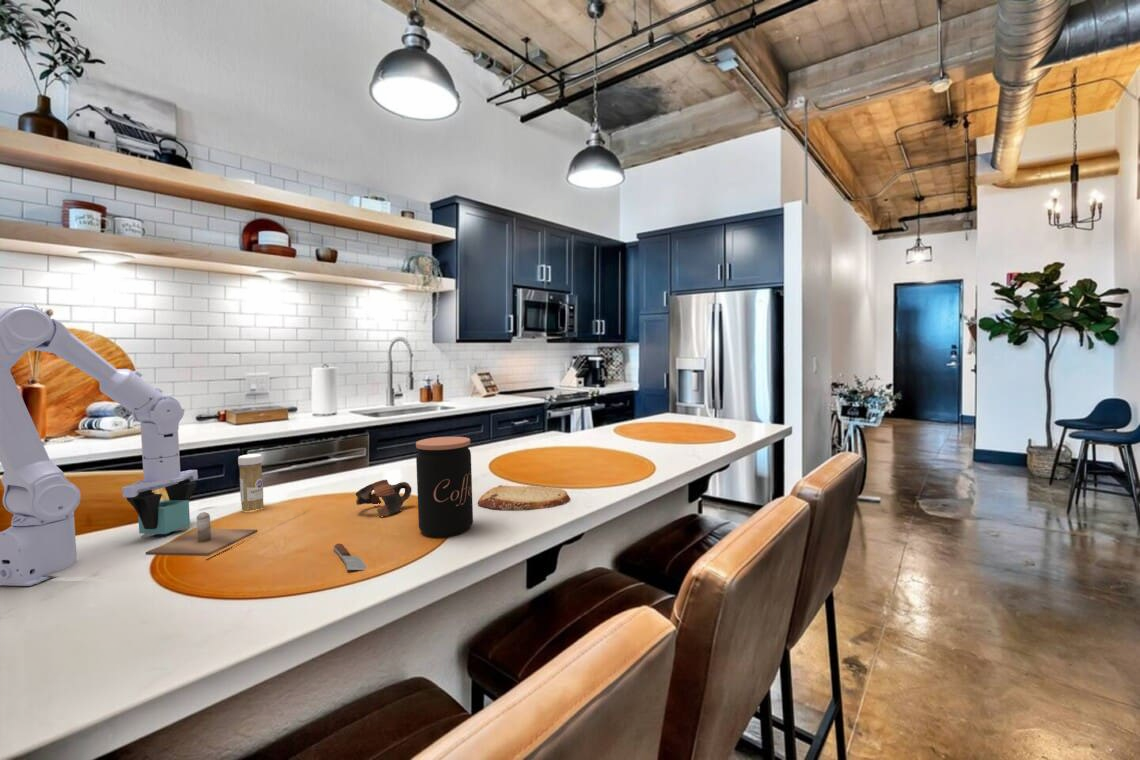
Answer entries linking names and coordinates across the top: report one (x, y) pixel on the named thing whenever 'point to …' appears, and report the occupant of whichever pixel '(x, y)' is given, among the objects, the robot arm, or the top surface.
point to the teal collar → (169, 517)
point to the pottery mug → (384, 496)
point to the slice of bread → (523, 498)
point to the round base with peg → (157, 536)
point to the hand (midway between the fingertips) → (165, 523)
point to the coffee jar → (444, 486)
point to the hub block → (202, 540)
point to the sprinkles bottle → (251, 481)
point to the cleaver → (349, 558)
